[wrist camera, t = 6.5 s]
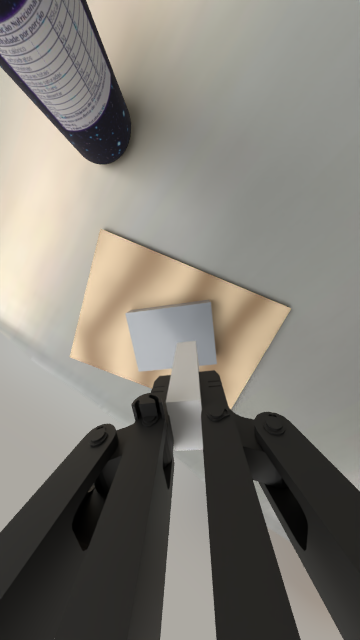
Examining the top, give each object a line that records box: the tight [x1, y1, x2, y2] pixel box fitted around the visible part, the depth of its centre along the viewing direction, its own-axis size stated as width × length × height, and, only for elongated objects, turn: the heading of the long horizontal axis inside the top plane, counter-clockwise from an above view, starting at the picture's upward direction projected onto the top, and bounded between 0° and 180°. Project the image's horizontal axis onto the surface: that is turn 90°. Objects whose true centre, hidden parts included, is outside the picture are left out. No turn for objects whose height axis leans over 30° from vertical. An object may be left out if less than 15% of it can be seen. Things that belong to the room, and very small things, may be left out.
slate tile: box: [125, 300, 217, 372], centre depth 19 cm, size 2×7×9 cm
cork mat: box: [70, 229, 291, 409], centre depth 21 cm, size 22×16×1 cm
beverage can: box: [0, 0, 131, 164], centre depth 10 cm, size 6×6×12 cm
